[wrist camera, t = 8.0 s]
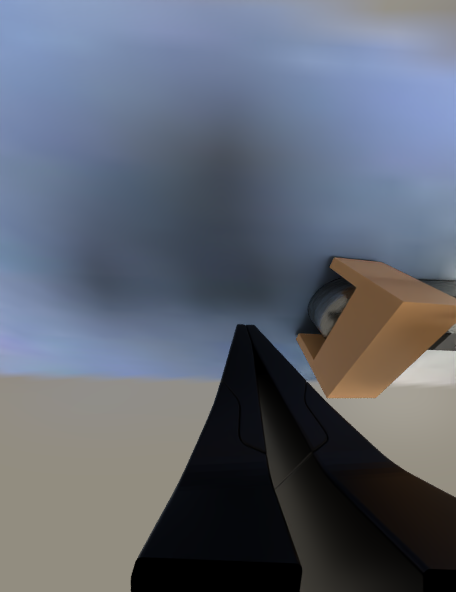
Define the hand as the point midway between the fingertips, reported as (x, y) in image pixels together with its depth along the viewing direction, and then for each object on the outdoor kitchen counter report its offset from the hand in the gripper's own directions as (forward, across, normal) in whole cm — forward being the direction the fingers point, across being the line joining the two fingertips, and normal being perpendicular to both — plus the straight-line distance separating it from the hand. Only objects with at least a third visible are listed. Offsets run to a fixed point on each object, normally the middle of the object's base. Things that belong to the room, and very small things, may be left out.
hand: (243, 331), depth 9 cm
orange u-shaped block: (+3, -7, 0) cm, 8 cm away
